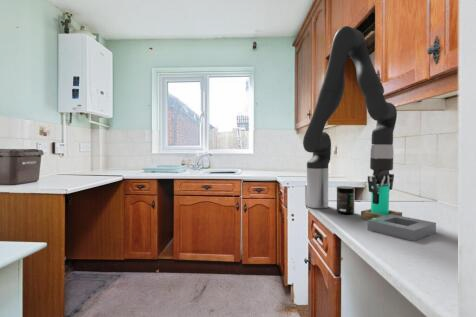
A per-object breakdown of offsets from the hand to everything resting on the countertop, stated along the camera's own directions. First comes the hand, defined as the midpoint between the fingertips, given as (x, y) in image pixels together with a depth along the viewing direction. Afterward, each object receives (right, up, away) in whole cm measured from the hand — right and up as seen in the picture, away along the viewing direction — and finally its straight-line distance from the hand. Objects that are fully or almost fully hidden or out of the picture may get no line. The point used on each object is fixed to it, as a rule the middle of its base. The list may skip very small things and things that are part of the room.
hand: (380, 202), depth 106 cm
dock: (-1, -7, -16) cm, 17 cm away
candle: (0, -4, 0) cm, 4 cm away
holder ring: (0, -6, 0) cm, 6 cm away
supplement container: (-10, -6, +9) cm, 14 cm away
